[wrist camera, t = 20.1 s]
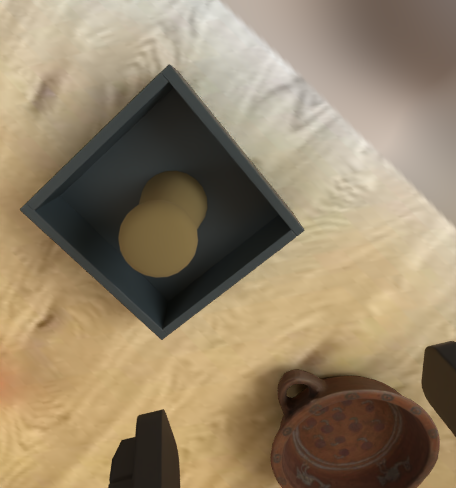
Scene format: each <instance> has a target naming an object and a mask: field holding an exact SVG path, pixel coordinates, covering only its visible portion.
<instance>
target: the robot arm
mask: <svg viewBox="0 0 456 488" xmlns="http://www.w3.org/2000/svg"><path fill="white" fill-rule="evenodd" d="M422 388H423V392H424V394H425V397H426V398H427V400H428V402H429V403H430V405H431V406H432V407H433V408H434V410H435V411H436V412H437V414H438V415H439V416H440V417H441V419H442V420H443V421H444V423H445V424H446V425H447V426H448V428H449V429H450V430H451V431H452V433H453V434H454V435H455V437H456V342H454V341H449V342H445V343H440V344H436V345H432V346H428V347H427V348H426V349H425V354H424V363H423V372H422ZM109 481H110V484H109V487H108V488H180V470H179V457H178V450H177V445H176V442H175V439H174V436H173V433H172V430H171V427H170V424H169V421H168V418H167V415H166V413H165V410H164V409H163V410H159V411H154V412H150V413H146V414H142V415H139V416H138V417H137V423H136V436H135V437H133V438H129V439H125V440H122V441H121V443H120V445H119V447H118V449H117V451H116V453H115V455H114V457H113V459H112V464H111V472H110V479H109Z"/></svg>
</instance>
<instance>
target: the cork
mask: <svg viewBox="0 0 456 488" xmlns="http://www.w3.org/2000/svg"><path fill="white" fill-rule="evenodd" d="M207 208H208V207H207V197H206V194H205V192H204V189H203V187H202V186H201V185H200V184H199V182H198V181H197V180H196V179H195V178H193V177H191V176H190V175H188V174H187V173H183V172H179V171H165V172H162V173H160V174H157V175H155V176H154V177H153V178H151V179H150V180H149V181H148V182H147V183H146V185H145V187H144V189H143V190H142V193H141V198H140V202H139V205H137V206H136V207H135V208H134V209H132V210H131V211H130V212H129V213H128V214H127V215H126V217H125V219H124V220H123V222H122V224H121V226H120V232H119V245H120V251H121V253H122V255H123V257H124V259H125V261H126V262H127V263H128V264H129V265H130V266H131V267H132V268H133V269H134V270H136V271H138V272H140V273H142V274H144V275H147V276H151V277H168V276H171V275H174V274H176V273H178V272H180V271H181V270H182V269H184V268H185V267H186V266H187V265H188V264H189V263H190V261H191V260H192V258H193V257H194V255H195V252H196V248H197V244H198V236H197V229H198V227H199V226H200V224H201V223H202V221H203V220H204V218H205V215H206V211H207Z"/></svg>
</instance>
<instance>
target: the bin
mask: <svg viewBox="0 0 456 488" xmlns="http://www.w3.org/2000/svg"><path fill="white" fill-rule="evenodd" d="M165 171H179V172H183V173H187V174H188V175H190V176H191V177H193V178H195V179H196V180H197V181H198V182H199V184H200V185H201V186H202V187H203V189H204V192H205V194H206V197H207V207H208V208H207V211H206V215H205V218H204V220H203V221H202V223H201V224H200V226H199V227H198V229H197V236H198V244H197V248H196V252H195V255H194V257H193V258H192V260H191V261H190V263H189V264H188V265H187V266H186V267H185V268H184V269H182V270H181V271H180V272H178V273H176V274H174V275H171V276H168V277H151V276H147V275H144V274H142V273H140V272H138V271H136V270H134V269H133V268H132V267H131V266H130V265H129V264H128V263H127V262H126V261H125V259H124V257H123V255H122V253H121V251H120V245H119V232H120V226H121V224H122V222H123V220H124V219H125V217H126V215H127V214H128V213H129V212H130V211H131V210H132V209H134V208H135V207H136V206H137V205H139V202H140V198H141V193H142V190H143V189H144V187H145V185H146V183H147V182H148V181H149V180H150V179H151V178H153V177H154V176H155V175H157V174H160V173H162V172H165ZM20 211H22V212H23V213H24V214H25V215H26V216H27V217H28V218H29V219H30V220H31V221H32V222H34V223H35V224H36V225H37V226H38V227H39V228H40V229H41V230H42V231H43V232H44V233H46V234H47V235H48V236H49V237H50V238H51V239H52V240H53V241H54V242H55V243H56V244H58V245H59V246H60V247H61V248H62V249H63V250H64V251H65V252H66V253H67V254H68V255H70V256H71V257H72V258H73V259H74V260H75V261H76V262H77V263H78V264H79V265H80V266H82V267H83V268H84V269H85V270H86V271H87V272H88V273H89V274H90V275H91V276H92V277H94V278H95V279H96V280H97V281H98V282H99V283H100V284H101V285H102V286H103V287H104V288H106V289H107V290H108V291H109V292H110V293H111V294H112V295H113V296H114V297H115V298H116V299H118V300H119V301H120V302H121V303H122V304H123V305H124V306H125V307H126V308H127V309H128V310H130V311H131V312H132V313H133V314H134V315H135V316H136V317H137V318H138V319H139V320H140V321H142V322H143V323H144V324H145V325H146V326H147V327H148V328H149V329H150V330H151V331H152V332H154V333H155V334H156V335H157V336H158V337H159V338H160V339H161V340H163V339H164V338H165V337H167V336H168V335H169V334H170V333H172V332H173V331H174V330H176V329H177V328H178V327H179V326H181V325H182V324H183V323H185V322H186V321H187V320H189V319H190V318H191V317H193V316H194V315H195V314H196V313H198V312H199V311H200V310H202V309H203V308H204V307H206V306H207V305H208V304H209V303H211V302H212V301H213V300H215V299H216V298H217V297H219V296H220V295H221V294H223V293H224V292H225V291H226V290H228V289H229V288H230V287H232V286H233V285H234V284H236V283H237V282H238V281H239V280H241V279H242V278H243V277H245V276H246V275H247V274H249V273H250V272H251V271H253V270H254V269H255V268H256V267H258V266H259V265H260V264H262V263H263V262H264V261H266V260H267V259H268V258H270V257H271V256H272V255H273V254H275V253H276V252H277V251H279V250H280V249H281V248H283V247H284V246H285V245H286V244H288V243H289V242H290V241H292V240H293V239H294V238H296V236H298V235H299V234H301V233H302V232H303V231H304V228H303V227H302V225H301V224H300V223H299V221H298V220H297V218H296V217H295V215H294V214H293V212H292V211H291V210H290V209H289V207H288V206H287V205H286V204H285V202H284V201H283V200H282V199H281V197H280V196H279V195H278V194H277V193H276V191H275V190H274V189H273V188H272V186H271V185H270V184H269V183H268V181H267V180H266V179H265V178H264V177H263V175H262V174H261V173H260V172H259V170H258V169H257V168H256V167H255V165H254V164H253V163H252V162H251V161H250V159H249V158H248V157H247V156H246V154H245V153H244V152H243V151H242V149H241V148H240V147H239V146H238V145H237V143H236V142H235V141H234V140H233V138H232V137H231V136H230V135H229V133H228V132H227V131H226V130H225V128H224V127H223V126H222V125H221V124H220V122H219V121H218V120H217V119H216V117H215V116H214V115H213V114H212V112H211V111H210V110H209V109H208V108H207V106H206V105H205V104H204V103H203V101H202V100H201V99H200V98H199V96H198V95H197V94H196V93H195V92H194V90H193V89H192V88H191V87H190V85H189V84H188V83H187V82H186V80H185V79H184V78H183V77H182V76H181V74H180V73H179V72H178V71H177V70H176V69H175V68H173V67H172V66H171V65H170V64H169V65H168V66H167V67H166V68H165V69H164V70H163V71H162V72H161V73H159V74H158V75H157V76H156V77H155V78H154V79H153V80H152V81H151V82H150V83H149V84H148V85H147V86H146V87H145V88H144V89H143V90H142V91H141V92H140V93H139V94H138V95H137V96H136V97H135V98H134V99H133V100H132V101H131V102H130V103H129V104H127V105H126V106H125V107H124V108H123V109H122V110H121V111H120V112H119V113H118V114H117V115H116V116H115V117H114V118H113V119H112V120H111V121H110V122H109V123H108V124H107V125H106V126H105V127H104V128H103V129H102V130H101V131H100V132H99V133H98V134H97V135H96V136H95V137H94V138H93V139H91V140H90V141H89V142H88V143H87V144H86V145H85V146H84V147H83V148H82V149H81V150H80V151H79V152H78V153H77V154H76V155H75V156H74V157H73V158H72V159H71V160H70V161H69V162H68V163H67V164H66V165H65V166H64V167H63V168H62V169H61V170H60V171H59V172H58V173H57V174H55V175H54V176H53V177H52V178H51V179H50V180H49V181H48V182H47V183H46V184H45V185H44V186H43V187H42V188H41V189H40V190H39V191H38V192H37V193H36V194H35V195H34V196H33V197H32V198H31V199H30V200H29V201H28V202H27V203H26V204H25V205H24V206H23V207H22V208H21V209H20Z"/></svg>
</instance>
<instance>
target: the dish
mask: <svg viewBox="0 0 456 488" xmlns="http://www.w3.org/2000/svg"><path fill="white" fill-rule="evenodd" d="M294 384H305V385H307V386H308V387H307V388H306V389H305V390H303V391H302V392H301V393H300V394H298V395H297V396H296V397H293V398H291V397H288V396H286V391H287V389H288V388H289V387H290V386H292V385H294ZM278 399H279V403H280V405H281V408H282V410H283V413H284V416H283V419H282V421H281V426H280V429H279V431H278V433H277V434H276V436H275V439H274V442H273V445H272V451H271V466H272V469H273V472H274V475H275V477H276V479H277V481H278V483H279V484H280V485H281V487H282V488H417V487H418V486H419V485H420V484H421V483H422V482H423V480H424V479H425V478H426V477H427V476H428V474H429V473H430V472H431V470H432V469H433V467H434V466H435V464H436V461H437V459H438V454H439V445H440V439H439V433H438V430H437V428H436V426H435V424H434V422H433V420H432V419H431V417H430V416H429V415H428V414H427V412H426V411H425V410H424V409H423V408H421V407H420V406H419V405H418V404H416V403H415V402H414V401H412V400H410V399H408V398H406V397H404V396H402V395H401V394H399V393H398V392H397V391H396V390H394V389H393V388H391V387H390V386H388V385H386V384H384V383H382V382H379V381H376V380H373V379H369V378H364V377H360V376H340V377H332V378H327V379H323V380H321V379H320V378H318V377H317V376H315V375H313V374H311V373H308V372H306V371H302V370H298V369H295V370H290V371H288V372H286V373H285V374H284V375H283V376H282V378H281V380H280V382H279V384H278Z"/></svg>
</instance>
